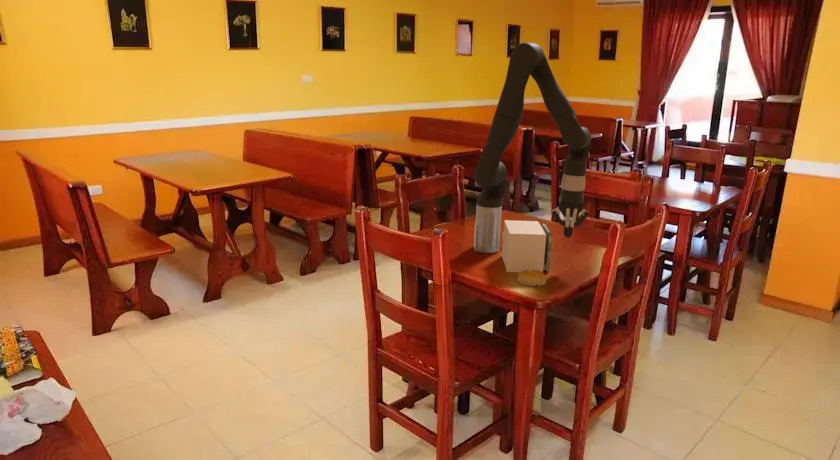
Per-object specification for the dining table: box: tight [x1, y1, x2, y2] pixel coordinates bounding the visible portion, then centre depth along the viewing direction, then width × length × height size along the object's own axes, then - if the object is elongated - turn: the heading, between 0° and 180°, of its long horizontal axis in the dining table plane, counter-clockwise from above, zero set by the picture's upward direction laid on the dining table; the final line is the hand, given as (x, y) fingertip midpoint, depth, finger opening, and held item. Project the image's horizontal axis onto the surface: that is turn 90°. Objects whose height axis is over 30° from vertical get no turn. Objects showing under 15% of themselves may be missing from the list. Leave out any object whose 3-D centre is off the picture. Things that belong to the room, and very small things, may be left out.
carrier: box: [541, 223, 553, 272], centre depth 199 cm, size 14×14×13 cm
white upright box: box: [501, 219, 546, 273], centre depth 199 cm, size 12×16×14 cm
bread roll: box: [516, 270, 547, 287], centre depth 185 cm, size 8×9×4 cm
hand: (567, 236), depth 197 cm, fingers closed
